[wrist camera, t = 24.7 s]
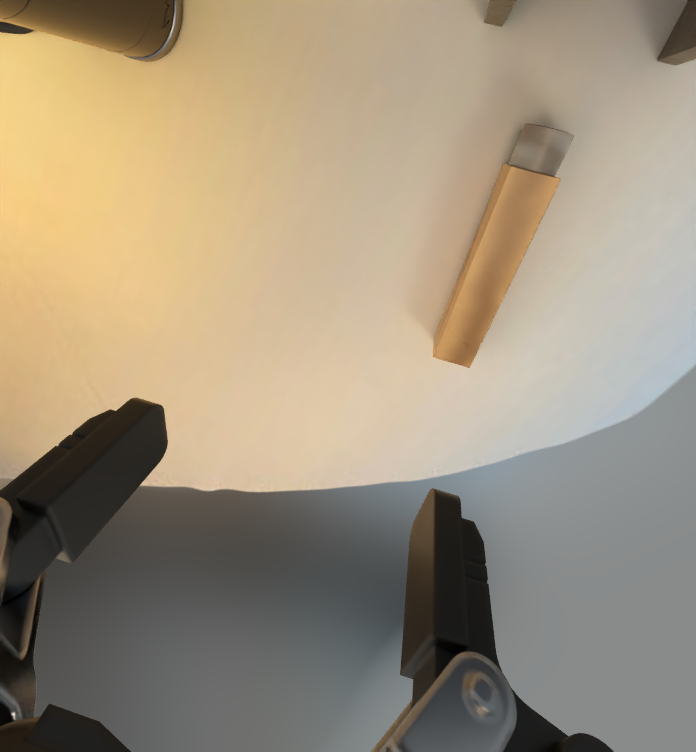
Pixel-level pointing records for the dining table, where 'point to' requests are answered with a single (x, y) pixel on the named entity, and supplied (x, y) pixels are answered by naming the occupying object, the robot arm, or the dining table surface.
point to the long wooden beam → (501, 241)
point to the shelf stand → (685, 43)
